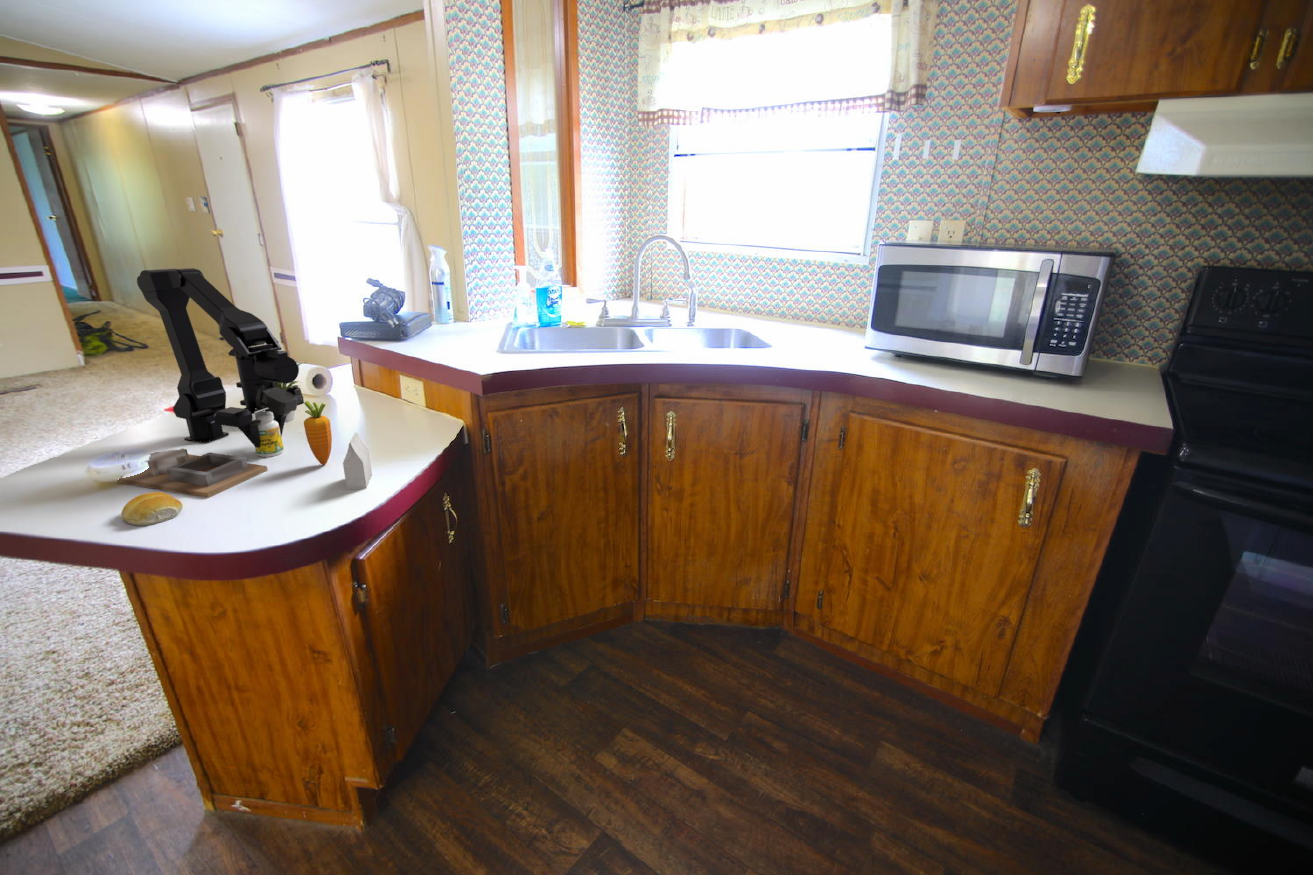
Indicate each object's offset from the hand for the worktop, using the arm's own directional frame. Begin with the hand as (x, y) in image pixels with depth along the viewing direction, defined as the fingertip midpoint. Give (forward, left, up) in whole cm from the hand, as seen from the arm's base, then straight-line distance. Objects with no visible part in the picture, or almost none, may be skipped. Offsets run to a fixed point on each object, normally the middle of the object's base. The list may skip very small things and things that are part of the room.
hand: (268, 442), depth 136 cm
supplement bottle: (0, 0, -3) cm, 3 cm away
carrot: (+16, -2, -3) cm, 16 cm away
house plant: (-15, +21, -3) cm, 26 cm away
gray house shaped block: (+29, -7, -3) cm, 30 cm away
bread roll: (+4, -30, -3) cm, 31 cm away
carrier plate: (-4, -15, -2) cm, 16 cm away
